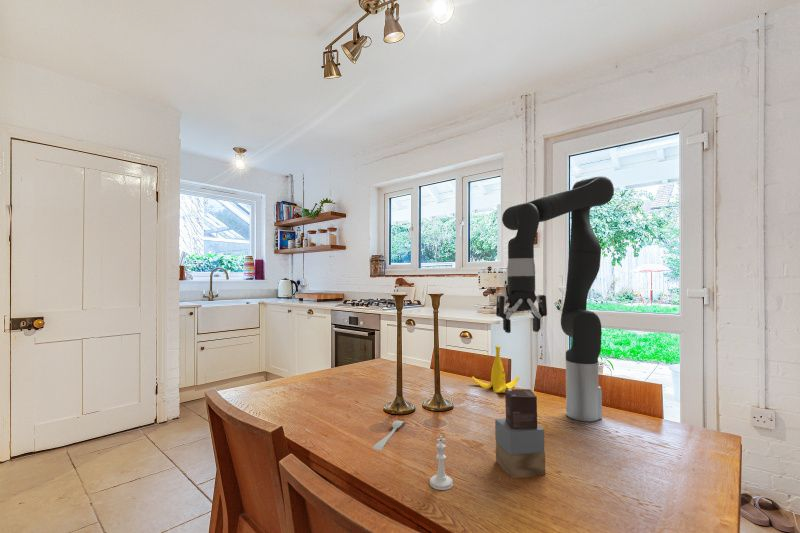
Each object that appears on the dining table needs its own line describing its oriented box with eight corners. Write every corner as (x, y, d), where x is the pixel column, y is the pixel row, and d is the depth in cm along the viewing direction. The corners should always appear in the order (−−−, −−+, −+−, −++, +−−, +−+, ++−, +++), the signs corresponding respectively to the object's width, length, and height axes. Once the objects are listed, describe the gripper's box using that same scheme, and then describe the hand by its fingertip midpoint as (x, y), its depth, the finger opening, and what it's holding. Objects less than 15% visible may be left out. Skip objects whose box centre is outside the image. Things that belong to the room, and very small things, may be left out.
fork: (370, 459, 100) (370, 449, 99) (400, 421, 119) (400, 413, 119) (380, 461, 98) (380, 450, 98) (409, 423, 118) (408, 414, 118)
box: (538, 430, 86) (537, 396, 86) (510, 429, 87) (509, 396, 87) (531, 420, 92) (530, 388, 93) (505, 419, 93) (504, 388, 93)
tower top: (526, 437, 94) (526, 416, 95) (544, 452, 87) (544, 429, 87) (495, 440, 93) (495, 419, 93) (510, 455, 85) (510, 432, 85)
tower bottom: (526, 458, 94) (526, 437, 94) (545, 475, 86) (545, 452, 86) (496, 462, 93) (495, 440, 93) (512, 479, 85) (511, 455, 85)
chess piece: (427, 478, 85) (427, 432, 85) (450, 477, 85) (449, 431, 86) (431, 490, 80) (431, 441, 80) (455, 489, 80) (454, 440, 81)
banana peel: (519, 385, 157) (519, 343, 157) (505, 398, 141) (505, 351, 141) (480, 379, 166) (480, 340, 166) (463, 391, 150) (462, 347, 150)
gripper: (537, 274, 115) (538, 329, 115) (492, 274, 113) (492, 331, 113) (551, 274, 108) (552, 333, 108) (503, 274, 106) (503, 334, 105)
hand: (521, 332), depth 110 cm, fingers open, 8 cm apart
